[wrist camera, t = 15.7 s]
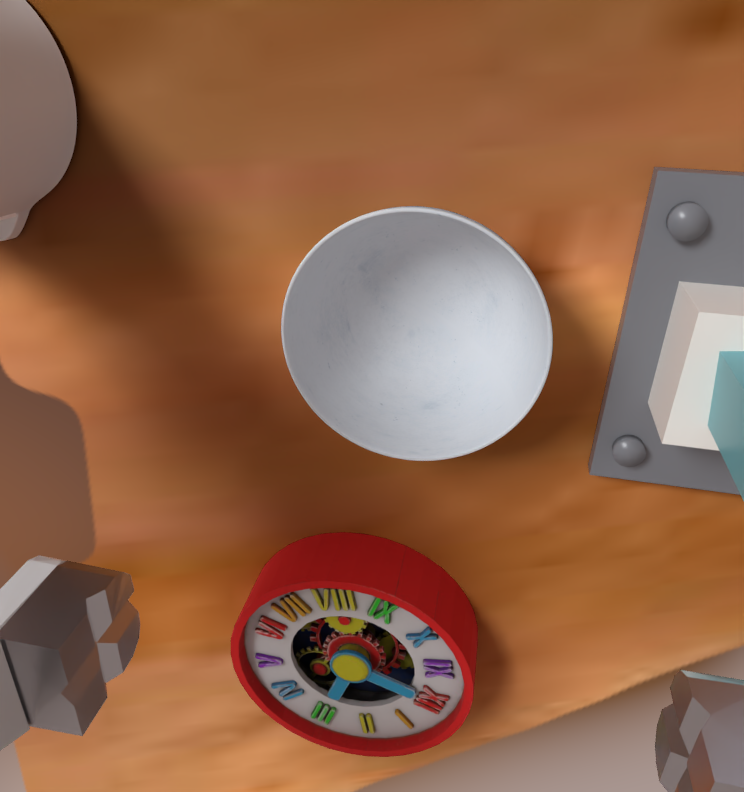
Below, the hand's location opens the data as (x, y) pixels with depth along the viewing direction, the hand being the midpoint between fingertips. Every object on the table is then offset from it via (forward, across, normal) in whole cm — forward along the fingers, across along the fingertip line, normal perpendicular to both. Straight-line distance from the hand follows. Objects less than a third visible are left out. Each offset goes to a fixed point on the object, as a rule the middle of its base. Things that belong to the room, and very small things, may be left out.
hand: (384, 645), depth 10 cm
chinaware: (+34, +3, +7) cm, 35 cm away
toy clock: (+35, +7, +37) cm, 51 cm away
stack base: (+34, -15, +8) cm, 38 cm away
